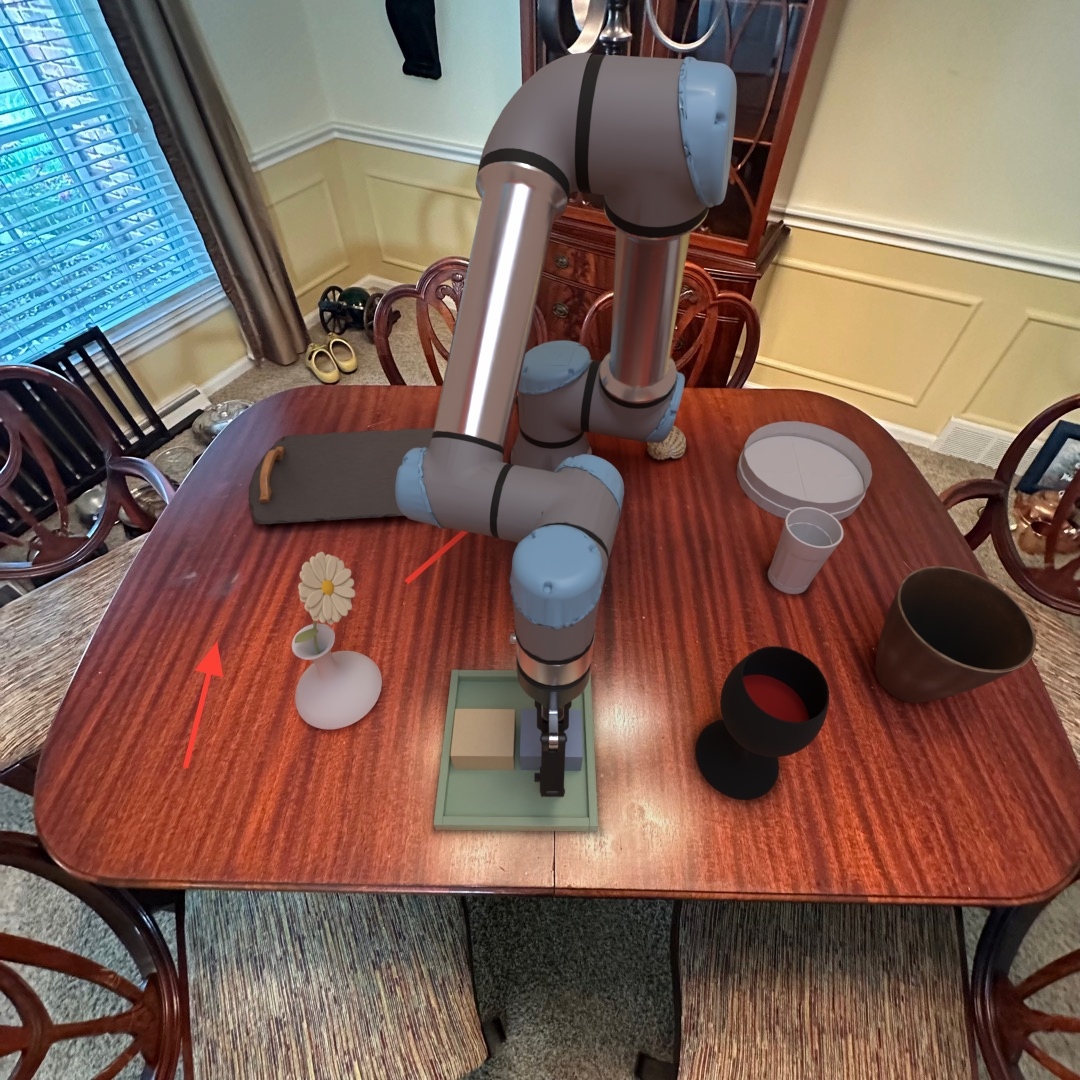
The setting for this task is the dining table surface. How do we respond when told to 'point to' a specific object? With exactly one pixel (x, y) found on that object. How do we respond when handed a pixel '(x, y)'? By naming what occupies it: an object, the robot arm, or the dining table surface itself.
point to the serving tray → (331, 476)
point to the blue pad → (532, 744)
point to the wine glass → (762, 721)
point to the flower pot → (950, 635)
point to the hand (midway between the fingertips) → (551, 743)
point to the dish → (803, 469)
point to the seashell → (668, 446)
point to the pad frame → (511, 793)
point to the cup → (803, 548)
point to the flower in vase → (333, 678)
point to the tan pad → (484, 739)
